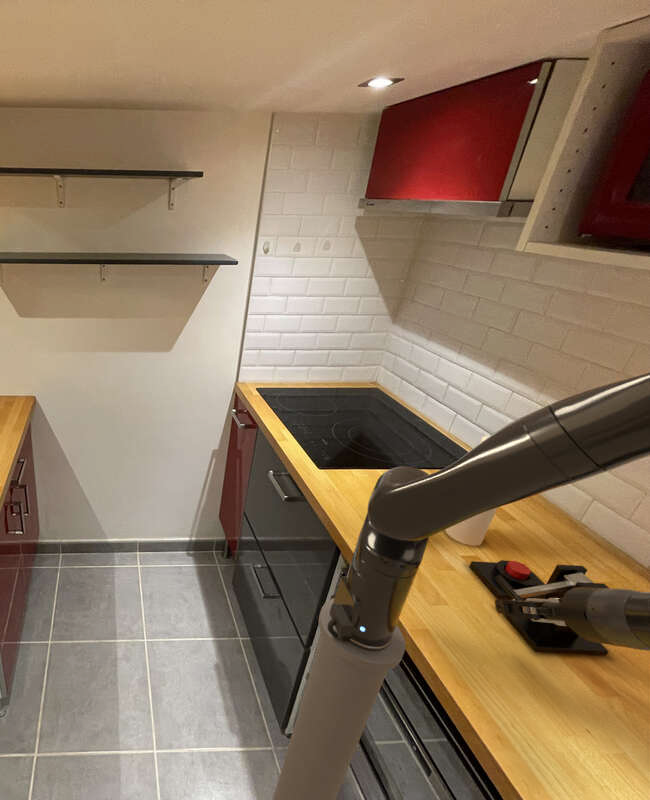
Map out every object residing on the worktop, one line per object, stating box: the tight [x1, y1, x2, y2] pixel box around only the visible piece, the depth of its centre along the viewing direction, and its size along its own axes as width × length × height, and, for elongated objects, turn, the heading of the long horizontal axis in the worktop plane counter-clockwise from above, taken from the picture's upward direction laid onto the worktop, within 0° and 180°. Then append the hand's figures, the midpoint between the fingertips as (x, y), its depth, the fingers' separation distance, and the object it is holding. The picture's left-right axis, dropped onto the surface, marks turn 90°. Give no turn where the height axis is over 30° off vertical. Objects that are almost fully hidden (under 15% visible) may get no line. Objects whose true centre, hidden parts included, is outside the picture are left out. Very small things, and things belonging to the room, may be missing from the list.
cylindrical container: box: [444, 435, 499, 547], centre depth 101 cm, size 7×7×25 cm
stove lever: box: [495, 572, 594, 601], centre depth 78 cm, size 12×8×2 cm
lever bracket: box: [502, 564, 610, 657], centre depth 79 cm, size 12×9×14 cm
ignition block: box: [468, 559, 547, 601], centre depth 92 cm, size 11×9×4 cm
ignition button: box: [505, 560, 532, 580], centre depth 91 cm, size 4×4×2 cm
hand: (523, 607), depth 77 cm, fingers open, 8 cm apart
